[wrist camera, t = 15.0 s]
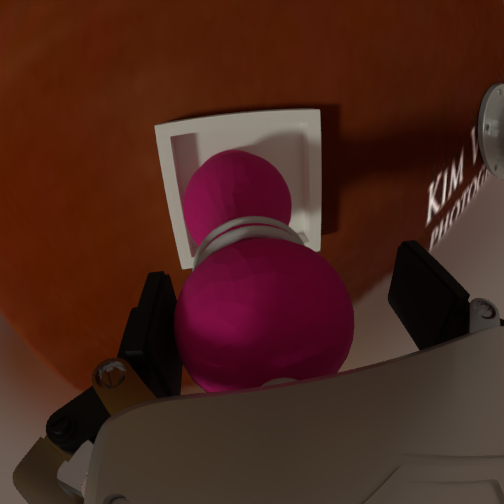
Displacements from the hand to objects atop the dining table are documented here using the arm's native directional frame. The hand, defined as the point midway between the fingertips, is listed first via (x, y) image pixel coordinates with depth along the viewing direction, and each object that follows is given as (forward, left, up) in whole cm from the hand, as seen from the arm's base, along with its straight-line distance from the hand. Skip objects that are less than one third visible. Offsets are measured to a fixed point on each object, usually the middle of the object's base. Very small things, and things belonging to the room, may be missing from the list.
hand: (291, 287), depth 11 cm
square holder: (+1, 0, -15) cm, 15 cm away
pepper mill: (+1, 0, -14) cm, 14 cm away
